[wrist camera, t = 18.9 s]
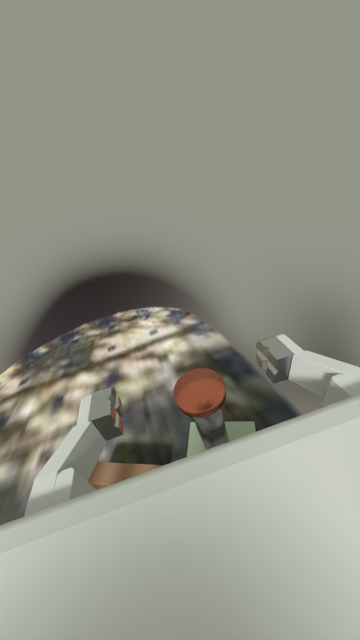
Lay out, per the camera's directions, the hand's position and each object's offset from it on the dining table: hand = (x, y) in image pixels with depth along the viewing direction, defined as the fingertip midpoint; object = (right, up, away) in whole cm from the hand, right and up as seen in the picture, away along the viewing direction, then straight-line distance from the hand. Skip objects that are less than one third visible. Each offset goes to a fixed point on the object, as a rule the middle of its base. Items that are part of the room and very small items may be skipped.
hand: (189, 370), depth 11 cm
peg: (+6, -20, +23) cm, 31 cm away
